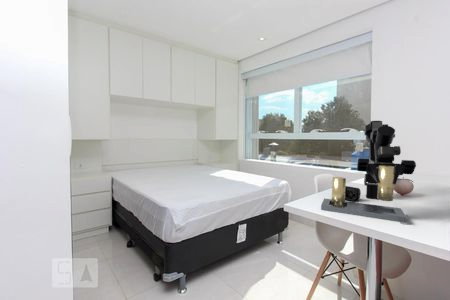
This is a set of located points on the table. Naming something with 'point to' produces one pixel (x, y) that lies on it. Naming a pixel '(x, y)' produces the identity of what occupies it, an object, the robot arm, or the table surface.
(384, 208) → the plate
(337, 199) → the cylinder
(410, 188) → the decorative fruit
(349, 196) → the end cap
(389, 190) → the brass billet
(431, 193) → the table surface
